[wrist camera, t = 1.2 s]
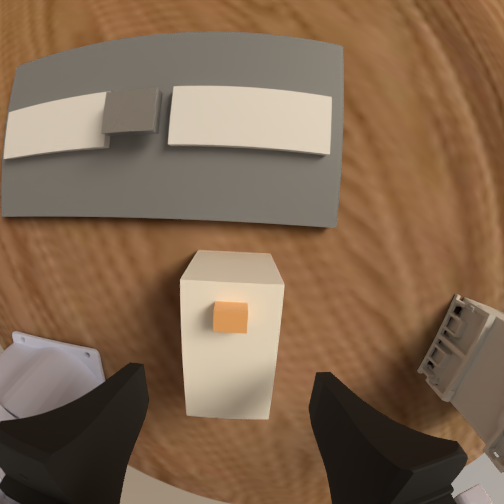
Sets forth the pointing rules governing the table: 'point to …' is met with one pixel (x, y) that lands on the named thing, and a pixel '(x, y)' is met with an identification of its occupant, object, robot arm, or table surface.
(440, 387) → the circuit breaker
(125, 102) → the block
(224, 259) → the block
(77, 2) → the table surface
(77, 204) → the din board
